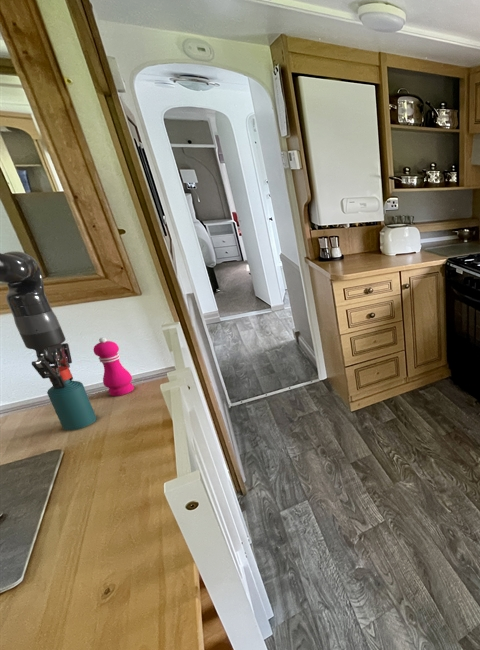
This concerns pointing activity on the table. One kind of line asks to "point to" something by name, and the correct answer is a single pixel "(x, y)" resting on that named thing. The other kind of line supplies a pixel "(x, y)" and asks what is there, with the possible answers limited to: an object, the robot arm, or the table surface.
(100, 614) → the table surface
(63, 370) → the cap
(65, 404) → the bottle
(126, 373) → the pepper mill
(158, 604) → the table surface
